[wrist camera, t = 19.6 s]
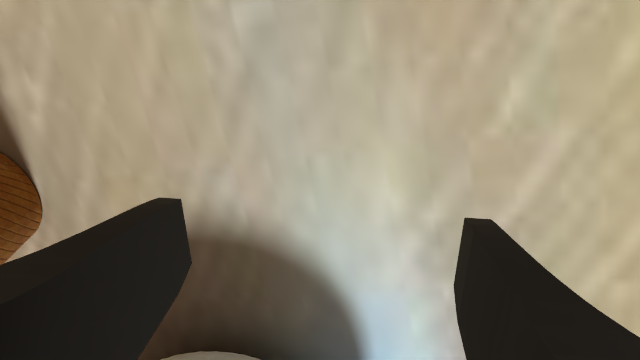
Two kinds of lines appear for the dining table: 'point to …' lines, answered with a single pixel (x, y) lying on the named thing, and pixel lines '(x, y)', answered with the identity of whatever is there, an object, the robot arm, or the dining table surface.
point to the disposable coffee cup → (16, 208)
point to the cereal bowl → (211, 356)
